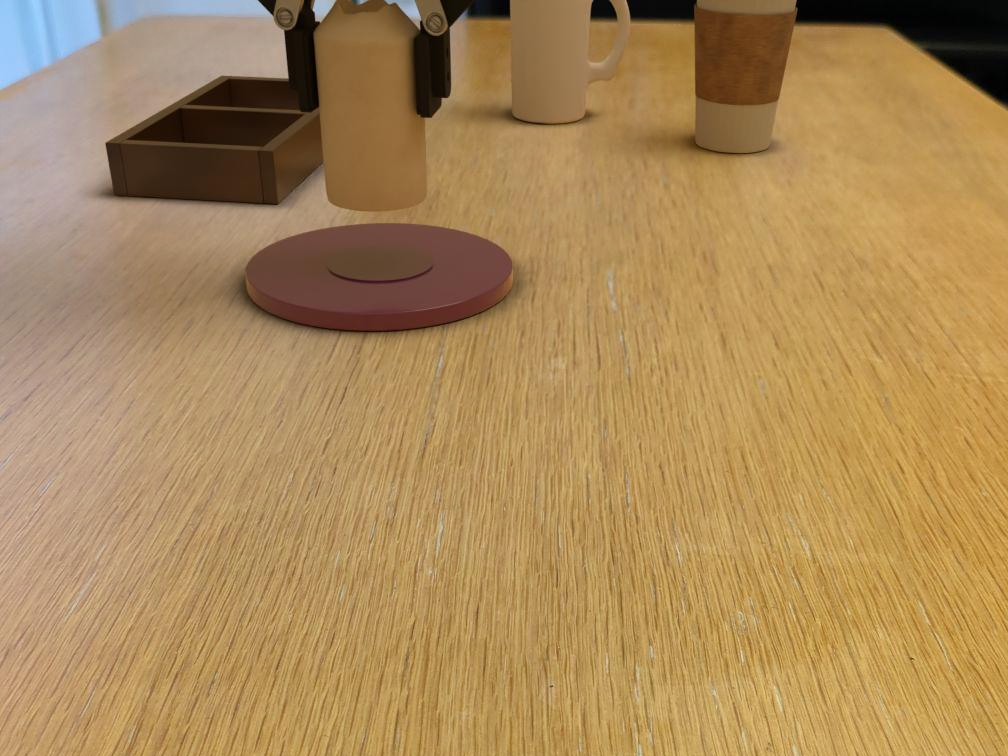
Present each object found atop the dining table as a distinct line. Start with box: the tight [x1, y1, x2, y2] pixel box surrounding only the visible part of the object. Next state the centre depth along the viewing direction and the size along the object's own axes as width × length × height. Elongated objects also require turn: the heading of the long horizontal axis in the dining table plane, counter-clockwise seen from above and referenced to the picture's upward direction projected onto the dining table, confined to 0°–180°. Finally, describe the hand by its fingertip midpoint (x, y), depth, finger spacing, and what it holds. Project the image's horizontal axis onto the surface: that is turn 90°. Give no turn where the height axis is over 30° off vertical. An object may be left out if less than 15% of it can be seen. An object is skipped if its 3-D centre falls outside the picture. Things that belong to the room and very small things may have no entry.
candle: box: [313, 0, 428, 213], centre depth 64 cm, size 6×6×10 cm
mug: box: [509, 0, 631, 125], centre depth 100 cm, size 10×7×12 cm, turn 95°
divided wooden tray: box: [104, 75, 324, 205], centre depth 90 cm, size 12×22×4 cm, turn 173°
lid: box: [244, 222, 514, 332], centre depth 69 cm, size 15×15×1 cm
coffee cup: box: [693, 0, 798, 154], centre depth 92 cm, size 8×8×15 cm
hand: (371, 105), depth 64 cm, fingers closed on candle, 5 cm apart
